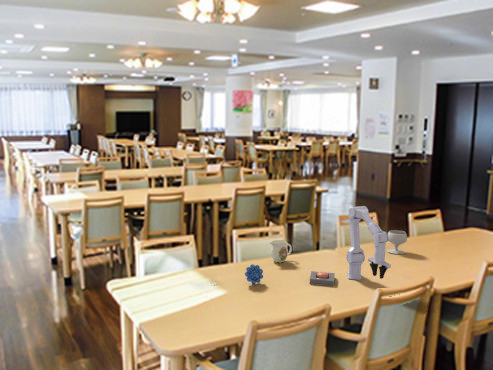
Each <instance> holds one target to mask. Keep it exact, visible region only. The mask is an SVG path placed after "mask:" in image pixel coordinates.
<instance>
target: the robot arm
mask: <svg viewBox="0 0 493 370" xmlns="http://www.w3.org/2000/svg"><path fill="white" fill-rule="evenodd" d="M348 220H349V223H350V224H349V226H350V228H349V229H350V247H349V249H348V250H347V251H346V253H347V254H346V257H345V258H346V261H347V263H348V272H347V280H357V281H359V280H360V281H361V280H362V265H363V263H364V262H365V261H366V255H365V253H364V250H363V249H362V248H361V245H360V244H361V239H360V221H361V220H363V221H364V223H365V224H366V225H367V226H368V228H367V229H368V231H369V232H370V234H371V235H372V240H373V244H374V245H373V246H374V254H373V256H374V257H368V258H367V262H368V263H369V267H370V268H371V271H372V276H373V277H376V276H377V274H378V269H379V279H381V280H382V279H384V277H385V274H386V272H387V270H388V269H391V266H392V265H391V264H390V263H389V262H388V261H385V259H386V248H387V242H389V241H388V232H387V231H385V230H382V229H381V227H380V226H379V225H378V223H377V222H374V221H373V219H372V217H371V216H370V214H369V209H368V207H367V206H365V205H361V206H350V208H349V209H348Z"/></svg>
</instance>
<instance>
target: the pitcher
mask: <svg viewBox="0 0 493 370" xmlns="http://www.w3.org/2000/svg"><path fill="white" fill-rule="evenodd" d="M269 244H271V251H270V252H271V258H272V260H273V262H274V261H275V262H274V263H276V262H283V263H285V262H286V260H287V257H289V256H290V255H291V253H292V251H293V248H292V245H291V244H290V243H288V242H287V241H286V240H278V239H277V240H272V241H269ZM288 247H289V249H288Z"/></svg>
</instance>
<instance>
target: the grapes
mask: <svg viewBox="0 0 493 370" xmlns="http://www.w3.org/2000/svg"><path fill="white" fill-rule="evenodd" d="M245 270H246V271H245V273H244V275H245V277H246V280H247V282H251V284H252V285H256V284H257V283H258V284H259V283H261V280H262V279H263V278H264V274H263V273H264V271H263V268H261V266H260V265H258V264H256V265H255V264H253V263H251V264H250V266H247V267H246V268H245Z"/></svg>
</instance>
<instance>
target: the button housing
mask: <svg viewBox="0 0 493 370" xmlns="http://www.w3.org/2000/svg"><path fill="white" fill-rule="evenodd" d="M317 272H318V271H313V270H312V271H310V277H309V284H310V285H318V286H319V285H320V286H331V287H335V273H334V272H327V273H328V279H326V278H317Z"/></svg>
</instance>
